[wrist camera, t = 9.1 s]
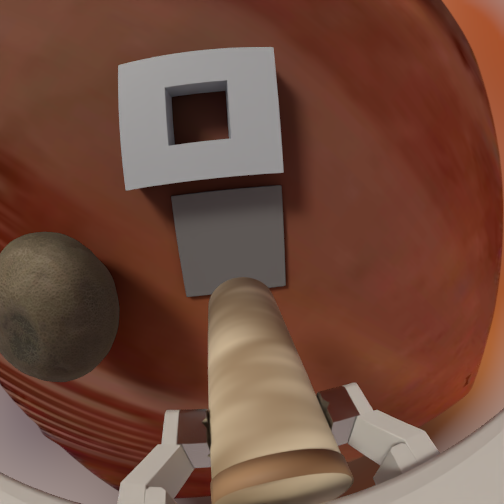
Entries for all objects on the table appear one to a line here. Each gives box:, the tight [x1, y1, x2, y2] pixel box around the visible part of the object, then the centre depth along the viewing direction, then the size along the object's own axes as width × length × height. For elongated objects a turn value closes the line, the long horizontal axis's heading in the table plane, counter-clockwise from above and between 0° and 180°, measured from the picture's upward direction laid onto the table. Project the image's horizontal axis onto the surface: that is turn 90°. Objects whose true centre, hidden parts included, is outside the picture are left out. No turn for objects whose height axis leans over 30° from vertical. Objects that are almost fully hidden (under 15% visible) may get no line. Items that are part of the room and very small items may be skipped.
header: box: [118, 47, 284, 190], centre depth 23 cm, size 14×12×4 cm
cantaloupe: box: [0, 232, 119, 382], centre depth 21 cm, size 14×14×15 cm
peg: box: [208, 277, 354, 504], centre depth 11 cm, size 4×4×12 cm
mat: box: [171, 185, 286, 297], centre depth 29 cm, size 11×11×1 cm
